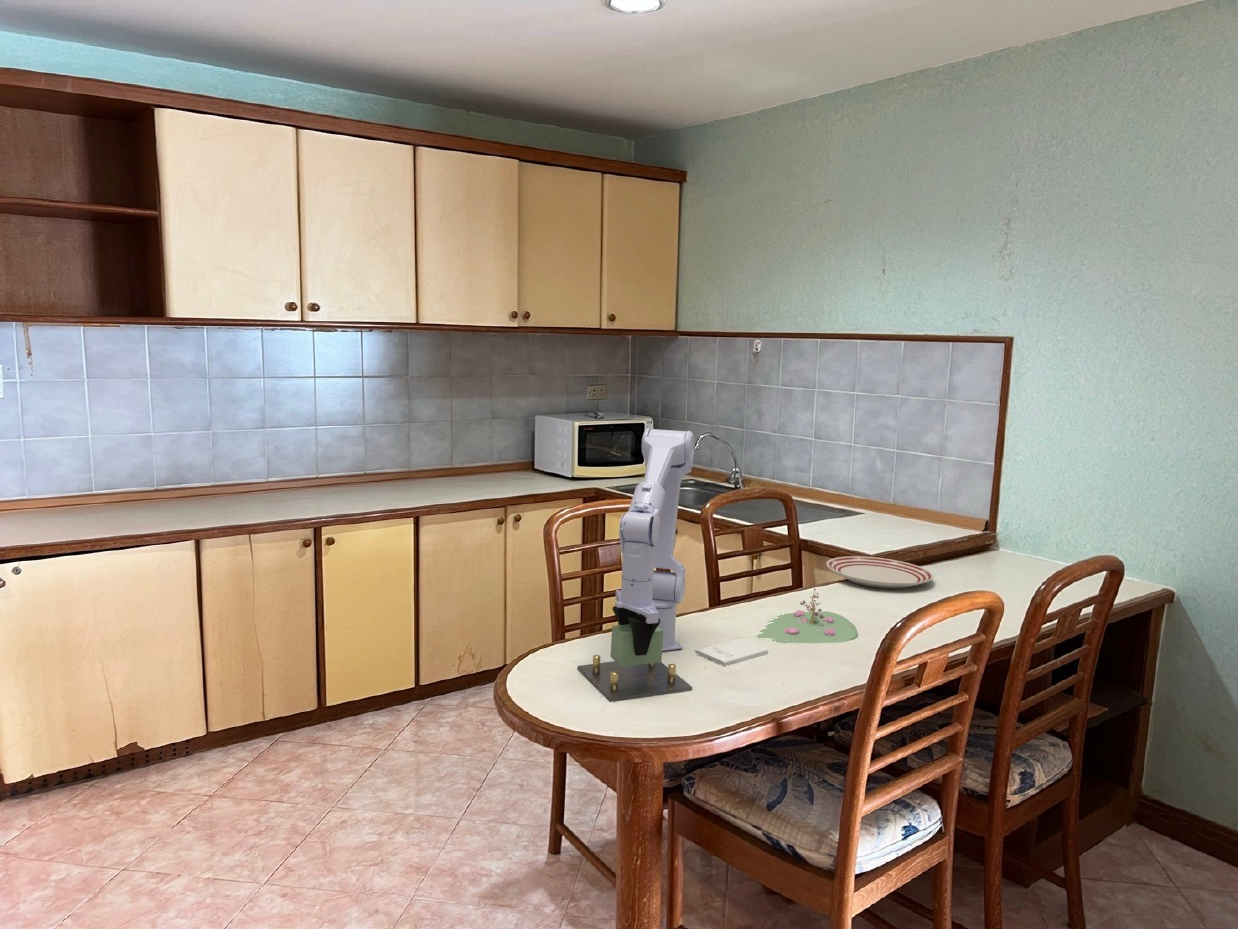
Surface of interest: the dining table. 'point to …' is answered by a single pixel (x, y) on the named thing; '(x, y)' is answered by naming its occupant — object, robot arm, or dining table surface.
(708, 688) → the dining table surface
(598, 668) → the chassis
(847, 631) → the plant
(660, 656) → the board block
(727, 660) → the external hard drive
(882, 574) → the dinner plate
